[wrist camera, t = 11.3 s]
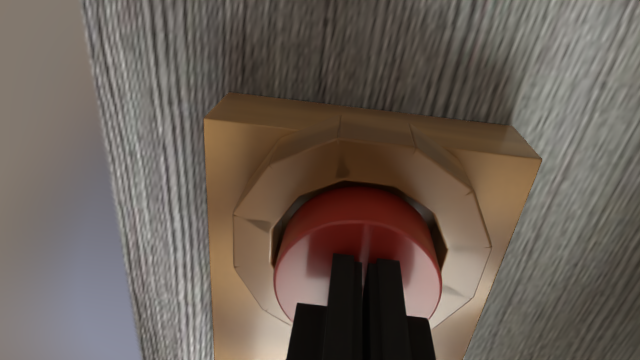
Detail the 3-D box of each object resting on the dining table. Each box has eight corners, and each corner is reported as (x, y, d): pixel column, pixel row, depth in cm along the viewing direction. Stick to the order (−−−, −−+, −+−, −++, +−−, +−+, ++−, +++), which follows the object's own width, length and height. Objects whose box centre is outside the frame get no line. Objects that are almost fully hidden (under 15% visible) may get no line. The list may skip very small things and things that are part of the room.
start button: (287, 175, 11) (275, 210, 10) (449, 195, 11) (463, 233, 10) (279, 294, 13) (269, 337, 12) (415, 312, 13) (422, 358, 12)
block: (227, 73, 14) (177, 117, 10) (519, 107, 14) (582, 167, 10) (232, 379, 22) (204, 470, 18) (416, 405, 22) (429, 503, 18)
